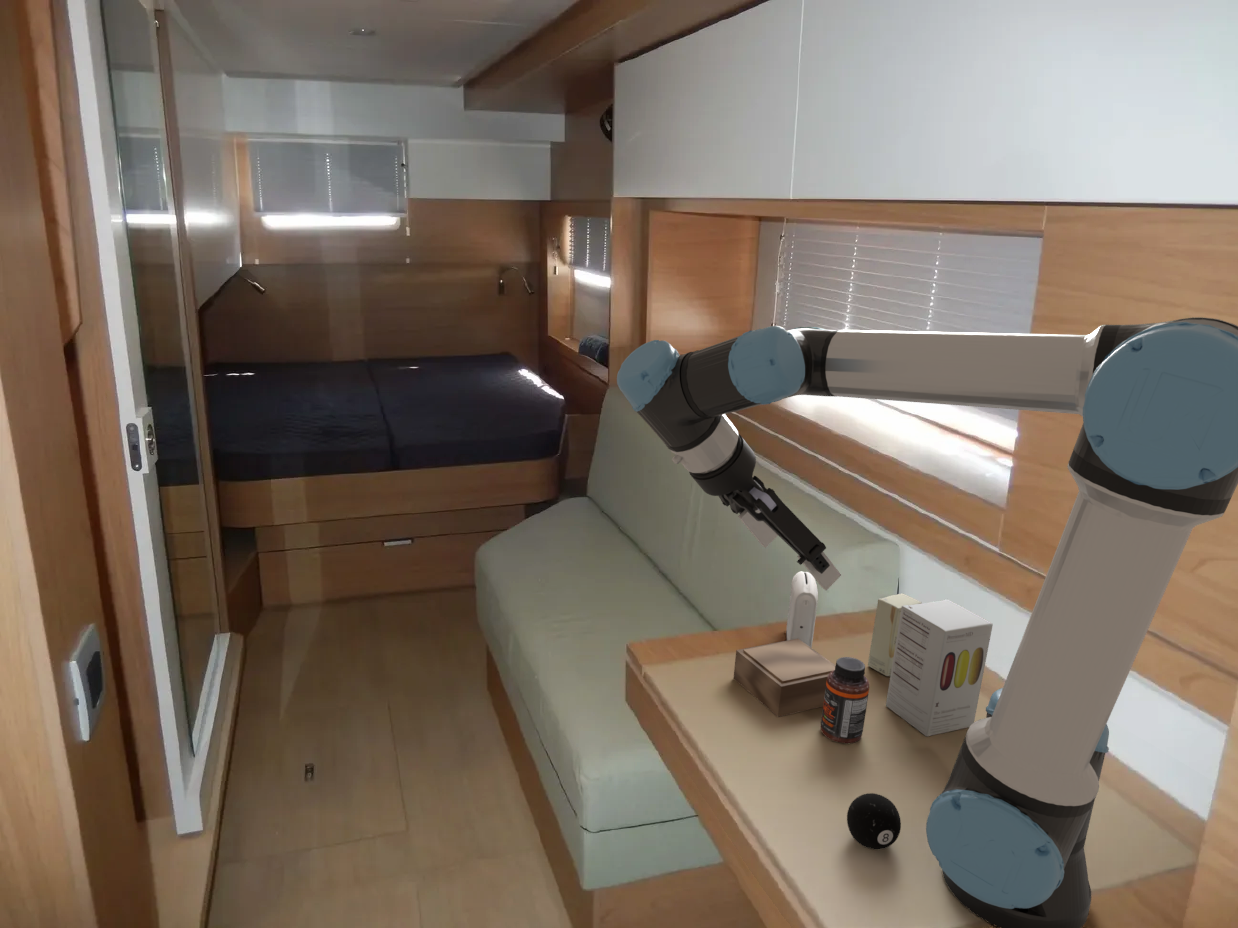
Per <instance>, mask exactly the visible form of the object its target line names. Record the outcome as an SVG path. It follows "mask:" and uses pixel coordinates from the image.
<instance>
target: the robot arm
mask: <svg viewBox="0 0 1238 928" xmlns="http://www.w3.org/2000/svg"><path fill="white" fill-rule="evenodd" d="M616 385H617V386H618V388H619V390H620V391H621V393H622V394H623V396H624V397H625V398H626V400H627V401H628V403H629V404H630V405H631V409H632V410H633V411H634V412H636V413H637V414H638V415H639V417H641V419H643V421H644V422H645V423H646V424H647V425H648V426H649V427H650V428H651V430H652V431H653V432H654V433H655V434H656V435H657V437H658V438H659V439H660V440H661V441H662V443H663V444H664V445H665V447H667V449H668V450H669V451H670V452H671V453H672V454H674V456H672V458H671V461H672V462H673V464H674V465H678V464H681V465H682V466H683V468H684V469H685V470H687V471H688V472H689V475H690V476H691V478H692V479H693V480H694V481H695V482H696V484H697V485H698V486H699V487H700V489H701V490H702V491H703V492H704V493H706V494H707V495H710V496H713V497H718V498H719V500H720V501H721V502H722V505H723V506H725V507H727V508H728V507H729V508H730V510H731V511H732V513H733V514H735V515H738V514H739V515H738V516H737V517H738V519H739V520H740V522H742V524H744V526H745V527H746V528H747V529H748V531H749V532H750V533H751V535H752V536H754V538H755V539H756V541H758V542H759V544H760V545H761V546H762V547H763V548H765V549H767V547H769V545H771V543H772V542H773V541H774V540H776V538H777V537H779V538H781V539H782V541H783V542H785V544H787V546H789V547H790V548H791V549H792V550H793V551H794V552H795V553H796V554H797V557H796V558H797V559H798V560H797V561H796V563H798V564H799V565H800V566H801V565H803V566H804V567H805V569H807V572H809V573H810V574H811V575H812V576H813V577H814V578H815V581H816V583H818V585H819V586H820V587H821V589H823V590H824V591H828V590H829V589H830V588H831V587H832V585H834V584H835V582H836V581H838V579H839V578H841V577H842V574H841V572H840V571H839V570H838V569H837V567H836V566H835V565H834V564H833V562H832V561H831V560H830V558H829V556H827V554H826V553H825V552H824V551H825V550H826V549H827V546H826V545H825V543H824V542H822V541H821V540H820V539H819V538H818V537H817V536H816V535H815V534H814V533H813V532H812V531H811V530H810V529H809V528H808V526H806V525H805V523H804V522H803V521H802V520H801V519H800V518H799V517H798V516H797V515H796V514H795V513H794V512H793V511H792V509H790V508H789V507H788V506H787V505H786V504H785V502H783V501H782V499H781V498H780V497H779V496H778V494H777V493H776V492H775V490H774V489H773V488H770V487H766V486H765V483H764V482H763V480H761V479H760V478H759V476H757V475H754V471H755V468H756V463H757V459H756V458H757V457H756V454H755V452H754V451H753V449H752V448H751V446H749V444H748V443H747V441H746V440H745V439H744V438H743V436H742V435H741V434H740V433H739V431H738V429H737V428H736V426H735V425H734V423H733V422H732V421H731V419H729V418H728V416H727V414H731V413H735V412H739V411H743V410H747V409H751V408H755V407H757V406H762V405H763V406H764V405H765V406H766V405H770V404H771V403H776V402H780V401H781V400H783V399H788V398H792V397H795V396H814V397H817V396H818V397H835V398H836V397H837V398H838V397H839V398H841V397H842V398H843V397H844V398H854V399H855V398H856V399H866V400H867V399H868V400H870V399H871V400H879V401H880V400H882V401H898V402H908V403H910V402H911V403H912V402H913V403H919V404H920V403H923V404H935V405H937V404H939V405H951V406H964V407H965V406H966V407H974V408H975V407H976V408H977V407H978V408H989V409H990V408H992V409H1003V410H1014V411H1015V410H1018V411H1029V412H1045V413H1059V414H1073V415H1080V416H1081V417H1082V425H1081V428H1080V431H1079V433H1078V436H1077V438H1076V441H1075V444H1074V447H1073V449H1072V451H1071V454H1070V457H1069V460H1068V463H1067V470H1068V471H1069V473H1070V475H1071V477H1072V478H1073V480H1074V482H1075V484H1076V485H1077V487H1078V493H1077V495H1076V497H1075V500H1074V503H1073V504H1072V505H1073V506H1072V508H1071V511H1070V514H1069V516H1068V518H1067V521H1066V524H1065V526H1064V529H1063V531H1062V534H1061V537H1060V539H1059V542H1058V545H1057V547H1056V549H1055V552H1054V555H1053V557H1052V560H1051V563H1050V566H1049V567H1048V570H1047V573H1046V576H1045V577H1044V581H1043V583H1042V585H1041V587H1040V591H1039V593H1038V597H1037V599H1036V602H1035V605H1034V606H1033V609H1032V612H1031V614H1030V617H1029V620H1028V622H1027V624H1026V628H1025V630H1024V632H1023V636H1022V638H1021V640H1020V643H1019V645H1018V648H1017V651H1016V653H1015V656H1014V658H1013V661H1012V663H1011V666H1010V668H1009V671H1008V674H1007V676H1006V679H1005V681H1004V685H1003V687H1001V688H999V689H997V690H995V691H994V692H993V693H992V694H991V696H990V698H989V702H988V705H987V706H986V707H985V711H986V714H985V715H986V716H985V718H981V719H978V720H976V721H974V723H973V724H971V725H970V727H968V729H967V731H966V733H965V736H964V739H963V742H962V744H961V746H960V749H959V751H958V755H957V757H956V759H955V762H954V765H953V767H952V771H950V775H949V777H948V780H947V782H946V784H945V786H944V788H943V790H942V792H941V793H940V794H939V795H938V796H937V797H936V798H935V799H934V800H933V801H932V803H931V805H930V808H929V814H928V815H927V820H926V825H925V830H926V831H925V833H926V839H927V843H928V844H927V845H928V847H929V849H930V852H931V854H932V855H933V856H934V857H935V859H936V860H937V861H938V865H939V867H940V869H941V873H942V876H943V880H944V882H945V885H946V886H947V888H948V889H949V891H950V892H951V893H952V895H953V896H954V897H955V898H956V899H957V900H958V901H959V902H960V903H961V904H962V905H963V906H964V907H966V908H967V909H968V910H970V912H971V913H972V914H975V915H976V916H977V917H980V918H981V919H982V920H984V921H985V922H987V923H989V924H991V925H993V926H995V927H998V928H1084V925H1085V924H1086V922H1087V920H1088V916H1089V911H1090V908H1091V904H1092V890H1091V885H1090V881H1089V874H1088V867H1087V860H1086V859H1087V858H1086V852H1085V845H1086V839H1087V835H1088V832H1089V825H1090V822H1091V816H1092V813H1093V809H1094V804H1095V800H1096V798H1097V795H1098V793H1099V790H1100V778H1101V774H1102V770H1103V766H1104V761H1105V757H1106V754H1108V752H1109V750H1110V748H1109V746H1108V744H1109V737H1110V730H1109V727H1108V724H1107V723H1108V721H1109V719H1110V717H1111V714H1112V712H1113V710H1114V708H1115V705H1116V704H1117V701H1118V698H1119V696H1120V694H1121V692H1122V689H1123V687H1124V685H1125V683H1126V681H1127V678H1128V676H1129V674H1130V671H1131V669H1132V667H1133V664H1134V662H1135V659H1136V658H1137V656H1138V653H1139V651H1140V649H1141V646H1142V644H1143V642H1144V641H1145V640H1144V639H1145V637H1146V635H1147V633H1148V631H1149V628H1150V626H1151V624H1152V621H1153V619H1154V617H1155V615H1156V612H1157V610H1158V608H1159V605H1160V604H1161V601H1162V599H1163V597H1164V595H1165V592H1166V590H1167V588H1168V585H1169V583H1170V581H1171V578H1172V576H1173V574H1174V571H1175V569H1176V567H1177V565H1178V562H1179V561H1180V559H1181V556H1182V554H1183V552H1184V549H1185V547H1186V544H1187V542H1188V540H1189V539H1190V538H1189V537H1190V536H1191V533H1192V531H1193V529H1194V528H1195V527H1197V526H1199V525H1202V524H1206V523H1207V522H1208V523H1209V522H1211V521H1214V520H1217V519H1219V518H1221V517H1223V516H1224V514H1225V512H1226V510H1227V508H1228V506H1229V503H1230V501H1231V499H1232V497H1233V496H1234V493H1235V491H1236V488H1237V486H1238V325H1237V324H1234V323H1232V322H1230V321H1225V320H1223V319H1220V318H1219V319H1218V318H1212V317H1202V316H1201V317H1200V316H1198V317H1193V316H1192V317H1187V318H1186V317H1185V318H1180V319H1175V320H1168V321H1161V322H1151V323H1139V324H1135V323H1134V324H1101V325H1099V326H1098V327H1097V328H1096V329H1095V330H1093V331H1092V332H1091V333H1090V334H1059V333H1058V334H1054V333H1052V334H1050V333H1048V334H1047V333H1003V332H999V333H998V332H997V333H996V332H964V331H963V332H961V331H960V332H954V331H953V332H952V331H951V332H950V331H919V330H918V331H912V330H910V331H909V330H907V331H906V330H871V329H870V330H864V329H863V330H860V329H840V330H838V329H826V328H822V327H817V326H799V327H794V328H793V329H787V330H786V329H785V328H784V327H782V326H780V325H772V326H771V325H770V326H767V327H764V328H759V329H754V330H748V331H745V332H744V333H742V334H741V335H739V336H736V337H733V338H730V339H726V340H724V341H722V342H718V343H716V344H712V345H709V346H707V347H705V348H702V349H701V348H700V349H699V350H694V351H689V352H686V353H684V354H680V353H679V351H678V350H677V348H674V347H673V346H672V344H671V343H670V342H668V341H667V340H664V339H663V340H659V339H654V340H651V341H647V342H645V343H643V344H641V345H640V346H638V347H637V348H635V350H633V351H632V352H631V353H629V355H628V356H627V357H626V358H625V359H624V360H623V362H622V363H621V365H620V368H619V370H618V372H617V376H616Z"/></svg>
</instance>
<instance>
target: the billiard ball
mask: <svg viewBox="0 0 1238 928" xmlns="http://www.w3.org/2000/svg"><path fill="white" fill-rule="evenodd" d="M846 824H847V827H848V830H849V833H850V835H851V836H852V838H853V839H854V840H855V841H856V842H857V843H858V844H859V845H861V846H862V847H865V848H867V849H869V850H870V849H871V850H875V851H877V850H883V849H884V850H885V849H886V848H888V847H890V846H892V845H893V844H895V842H896V841H897V839H898V838H899V836H900V834H901V830H902V829H901V828H902V822H901V817H900V813H899V810H898V808H897V807H896V806H895V804H894V803H893V802H892V801H891V800H890V799H889V798H888V797H886V796H884V795H881V794H878V793H873V792H871V793H870V792H868V793H863V794H861V795H859V796H857V797H856V798H854V799H853V800H852V802H851V803H850V805H849V807H848V809H847V813H846Z"/></svg>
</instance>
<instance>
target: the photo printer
mask: <svg viewBox="0 0 1238 928" xmlns="http://www.w3.org/2000/svg"><path fill="white" fill-rule="evenodd" d="M818 591H819V590H818V585H817V581H816V580H815V578H814V577H813V576H812V575H811V573H810V572H809V571H802V570H801V571H798V572H796V573H795V574H794V575H793V577H792V580H791V584H790V594H789V595H790V597H789V604H788V614H787V619H786V620H787V622H786V641H787V640H793V639H799V640H801V641H802V642H804V643H805V644H806V645H808V646H809V647H811V648H812V647H813V641H814V640H813V639H814V635H815V634H814V633H815V627H816V626H815V624H816V617H817V609H818V601H819V600H818V599H819V593H818ZM812 649H813V648H812Z"/></svg>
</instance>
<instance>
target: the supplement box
mask: <svg viewBox="0 0 1238 928" xmlns="http://www.w3.org/2000/svg"><path fill="white" fill-rule="evenodd" d="M992 631H993V623H992V622H991V621H989V620H987V619H985V618H984V617H982V616H980V615H978V614H977V613H974V612H972V611H971V610H969V609H967V608H965V607H963V606H962V605H959V604H958V603H956V602H953V601H952V600H950V599H948V598H947V599H946V598H945V599H942V600H936V601H930V602H929V601H928V602H922V603H921V604H914V605H904V606H902V607H901V614H900V620H899V626H898V632H897V639H896V645H895V652H894V657H893V664H892V670H891V675H890V676H889V677H890V678H889V683H888V689H887V694H886V695H887V697H886V700H885V706H886V707H887V708H888V709H889V710H891V711H892V712H893V713H895V714H896V715H898V716H899V717H901V719H903V720H904V721H905V722H907V723H908V724H909V725H910V726H912V727H913V728H914V729H916V730H917V731H918V732H920V733H921V734H923V735H924V737H930V736H935V735H940V734H944V733H949V732H954V731H957V730H963V729H967V728H969V727H970V725H971V724H973V723H974V722H975V719H976V714H977V708H978V703H979V699H980V698H979V697H980V693H981V689H982V684H983V677H984V673H985V667H986V661H987V655H988V652H989V646H990V642H991V641H990V640H991V635H992Z"/></svg>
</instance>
